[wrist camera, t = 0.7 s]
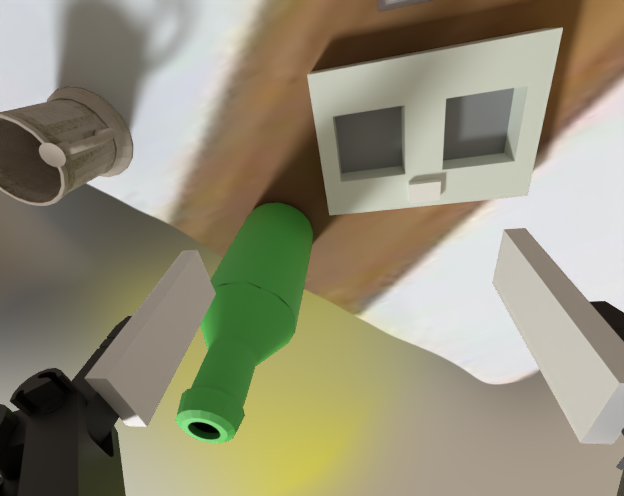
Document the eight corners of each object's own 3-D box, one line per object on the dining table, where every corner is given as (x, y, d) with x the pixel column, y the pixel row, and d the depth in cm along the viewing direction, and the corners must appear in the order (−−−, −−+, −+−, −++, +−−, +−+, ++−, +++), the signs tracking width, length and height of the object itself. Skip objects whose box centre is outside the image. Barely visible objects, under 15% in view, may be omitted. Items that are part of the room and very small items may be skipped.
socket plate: (311, 71, 30) (306, 76, 27) (543, 28, 27) (569, 27, 24) (331, 203, 38) (328, 218, 35) (514, 184, 34) (531, 199, 31)
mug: (82, 183, 40) (-7, 231, 30) (27, 100, 35) (-102, 126, 25) (182, 158, 37) (118, 204, 27) (136, 63, 32) (37, 76, 22)
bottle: (236, 207, 40) (107, 395, 19) (301, 191, 37) (237, 384, 17) (262, 263, 44) (181, 464, 23) (322, 252, 42) (291, 462, 21)
